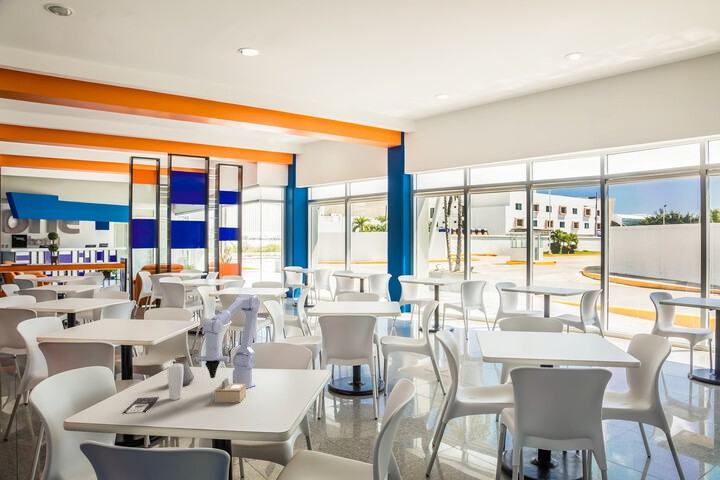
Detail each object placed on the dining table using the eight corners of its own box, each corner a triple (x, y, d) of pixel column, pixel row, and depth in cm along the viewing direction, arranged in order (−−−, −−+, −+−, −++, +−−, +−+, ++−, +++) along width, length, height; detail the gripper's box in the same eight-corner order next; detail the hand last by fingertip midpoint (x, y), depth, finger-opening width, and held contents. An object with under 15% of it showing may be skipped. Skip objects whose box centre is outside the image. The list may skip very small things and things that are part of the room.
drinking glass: (187, 397, 213) (186, 364, 213) (175, 401, 207) (175, 367, 207) (176, 395, 216) (175, 362, 216) (164, 399, 210) (163, 366, 210)
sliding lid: (214, 391, 205) (214, 383, 205) (221, 384, 214) (221, 377, 214) (240, 391, 204) (239, 383, 204) (246, 384, 214) (246, 377, 214)
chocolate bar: (158, 397, 212) (145, 411, 194) (158, 399, 212) (145, 413, 194) (138, 398, 211) (122, 412, 193) (138, 400, 211) (122, 414, 193)
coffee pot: (173, 381, 239) (172, 351, 239) (196, 380, 240) (196, 350, 240) (159, 394, 217) (159, 362, 218) (185, 393, 219) (185, 361, 219)
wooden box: (215, 402, 205) (214, 391, 205) (222, 396, 214) (222, 385, 214) (239, 402, 204) (239, 391, 204) (245, 396, 213) (245, 385, 213)
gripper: (193, 349, 206) (193, 380, 206) (225, 349, 205) (225, 380, 205) (199, 345, 213) (199, 375, 213) (230, 345, 212) (231, 375, 212)
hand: (212, 377), depth 210 cm, fingers closed
